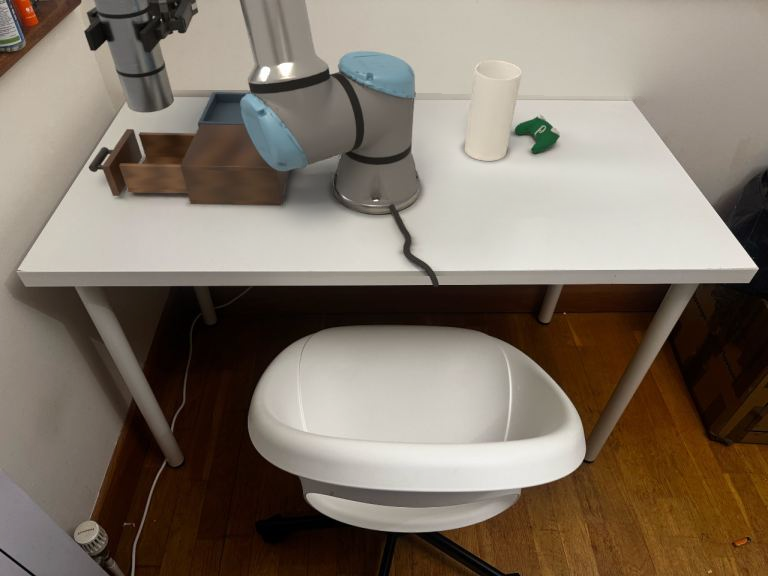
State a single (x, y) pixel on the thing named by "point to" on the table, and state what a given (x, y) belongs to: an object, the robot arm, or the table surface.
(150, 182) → the drawer
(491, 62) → the cup
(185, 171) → the cabinet
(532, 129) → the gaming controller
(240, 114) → the tray
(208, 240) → the table surface
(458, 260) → the table surface
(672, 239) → the table surface
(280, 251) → the table surface
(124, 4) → the steel travel flask
